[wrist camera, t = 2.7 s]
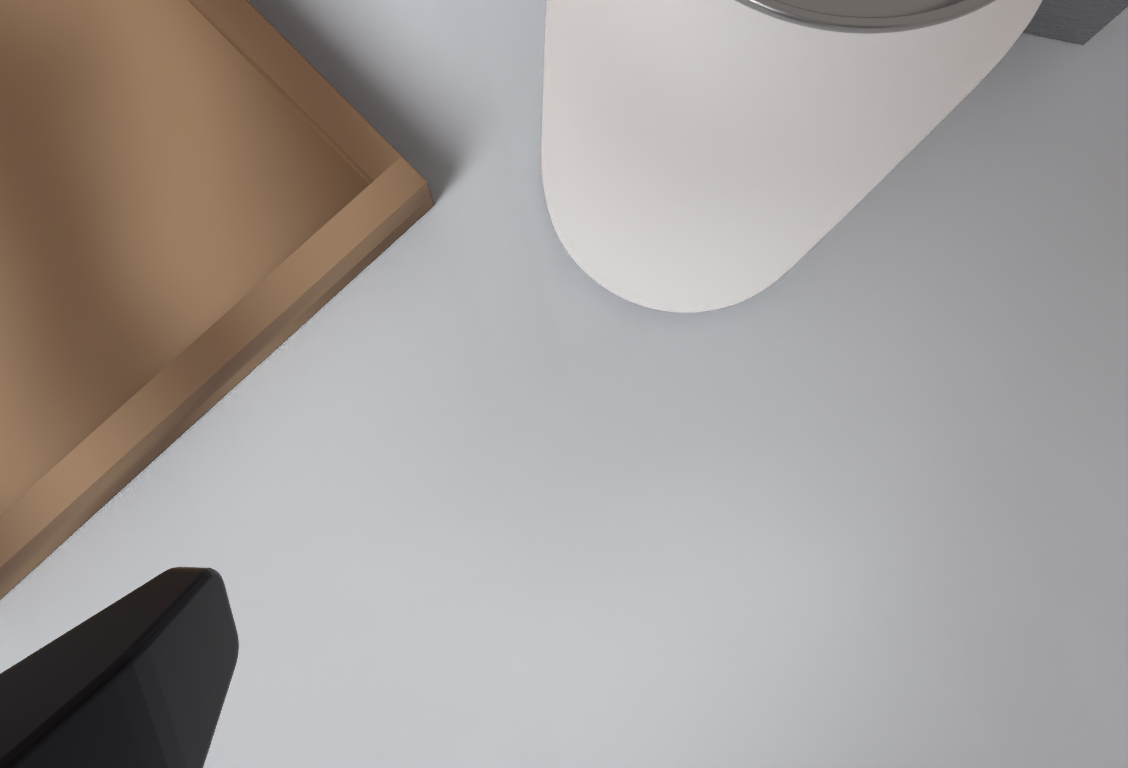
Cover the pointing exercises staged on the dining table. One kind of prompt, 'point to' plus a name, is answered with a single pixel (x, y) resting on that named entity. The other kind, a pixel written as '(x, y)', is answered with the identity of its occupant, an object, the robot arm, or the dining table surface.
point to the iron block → (1073, 18)
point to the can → (740, 127)
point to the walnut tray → (160, 234)
